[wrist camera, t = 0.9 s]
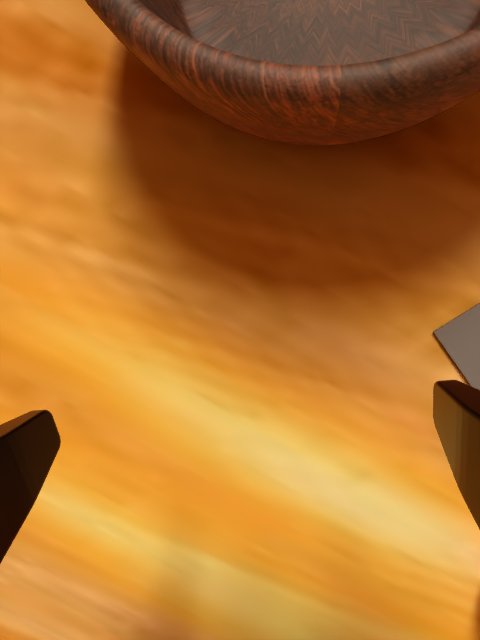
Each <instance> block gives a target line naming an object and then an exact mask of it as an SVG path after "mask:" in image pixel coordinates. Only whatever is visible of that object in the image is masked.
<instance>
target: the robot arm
mask: <svg viewBox="0 0 480 640" xmlns="http://www.w3.org/2000/svg"><path fill="white" fill-rule="evenodd" d="M433 418H434V424H435V427H436V430H437V432H438V435H439V438H440V440H441V443H442V446H443V448H444V451H445V454H446V456H447V459H448V462H449V464H450V467H451V470H452V472H453V475H454V478H455V480H456V483H457V485H458V488H459V490H460V492H461V494H462V496H463V498H464V500H465V502H466V504H467V506H468V508H469V510H470V512H471V514H472V516H473V518H474V520H475V521H476V523H477V525H478V527H479V529H480V390H479V389H476V388H474V387H472V386H469V385H467V384H464V383H462V382H460V381H457V380H445V381H437V382H436V383H435V384H434V389H433ZM60 442H61V441H60V435H59V433H58V430H57V427H56V424H55V421H54V419H53V416H52V414H51V413H50V412H49V411H48V410H35V411H30V412H28V413H26V414H24V415H21V416H19V417H17V418H15V419H12V420H10V421H8V422H6V423H4V424H1V425H0V563H1V562H2V560H3V558H4V556H5V555H6V553H7V551H8V549H9V548H10V546H11V544H12V542H13V540H14V539H15V537H16V535H17V533H18V532H19V530H20V528H21V526H22V525H23V523H24V521H25V519H26V518H27V516H28V514H29V512H30V510H31V508H32V507H33V505H34V503H35V501H36V499H37V497H38V494H39V492H40V490H41V488H42V486H43V483H44V481H45V479H46V477H47V475H48V472H49V470H50V468H51V466H52V463H53V461H54V459H55V457H56V455H57V452H58V450H59V448H60Z"/></svg>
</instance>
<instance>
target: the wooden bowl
mask: <svg viewBox="0 0 480 640" xmlns="http://www.w3.org/2000/svg"><path fill="white" fill-rule="evenodd" d="M85 1H86V2H87V4H88V5H89V6H90V7H91V8H92V10H93V11H94V12H95V13H96V14H97V15H98V17H99V18H100V19H101V20H102V21H103V22H104V23H105V25H106V26H107V27H108V28H109V29H110V30H111V31H112V32H113V34H114V35H115V36H116V37H117V38H118V39H119V40H120V41H121V42H122V43H123V44H124V45H125V46H126V47H127V48H128V49H129V50H130V51H131V52H132V53H133V54H134V55H135V56H136V57H137V58H138V59H139V60H140V61H141V62H142V63H143V64H144V65H145V66H146V67H147V68H148V69H149V70H151V71H152V72H153V73H154V74H155V75H156V76H157V77H158V78H159V79H161V80H162V81H163V82H164V83H165V84H166V85H167V86H168V87H170V88H171V89H172V90H173V91H174V92H175V93H177V94H178V95H180V96H181V97H182V98H184V99H185V100H186V101H188V102H189V103H191V104H192V105H193V106H195V107H196V108H198V109H199V110H201V111H202V112H204V113H206V114H207V115H209V116H211V117H213V118H214V119H216V120H218V121H220V122H222V123H224V124H226V125H228V126H231V127H233V128H235V129H238V130H240V131H243V132H246V133H249V134H252V135H255V136H258V137H261V138H264V139H268V140H273V141H278V142H283V143H290V144H299V145H336V144H347V143H353V142H359V141H364V140H369V139H373V138H377V137H380V136H384V135H387V134H390V133H394V132H397V131H401V130H403V129H406V128H408V127H411V126H413V125H416V124H419V123H421V122H424V121H426V120H428V119H430V118H432V117H434V116H436V115H438V114H440V113H442V112H444V111H446V110H448V109H450V108H451V107H453V106H455V105H457V104H459V103H460V102H462V101H464V100H465V99H467V98H468V97H470V96H472V95H473V94H475V93H477V92H478V91H480V0H85Z"/></svg>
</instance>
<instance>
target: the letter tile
mask: <svg viewBox="0 0 480 640" xmlns="http://www.w3.org/2000/svg"><path fill="white" fill-rule="evenodd" d="M433 333H434V334H435V336H436V337H437V339H438V340H439V342H440V343H441V344H442V346H443V347H444V349H445V350H446V352H447V353H448V354H449V356H450V357H451V359H452V360H453V362H454V363H455V364H456V366H457V367H458V369H459V370H460V372H461V373H462V374H463V376H464V377H465V379H466V380H467V381H468V383H469V384H470V386H472V387H474V388H476V389H479V390H480V303H479V304H477V305H476V306H474V307H472V308H471V309H469V310H468V311H466V312H464V313H463V314H461V315H460V316H458V317H456V318H455V319H453V320H452V321H450V322H448V323H447V324H445V325H444V326H442V327H440V328H439V329H437V330H436V331H434V332H433Z"/></svg>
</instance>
